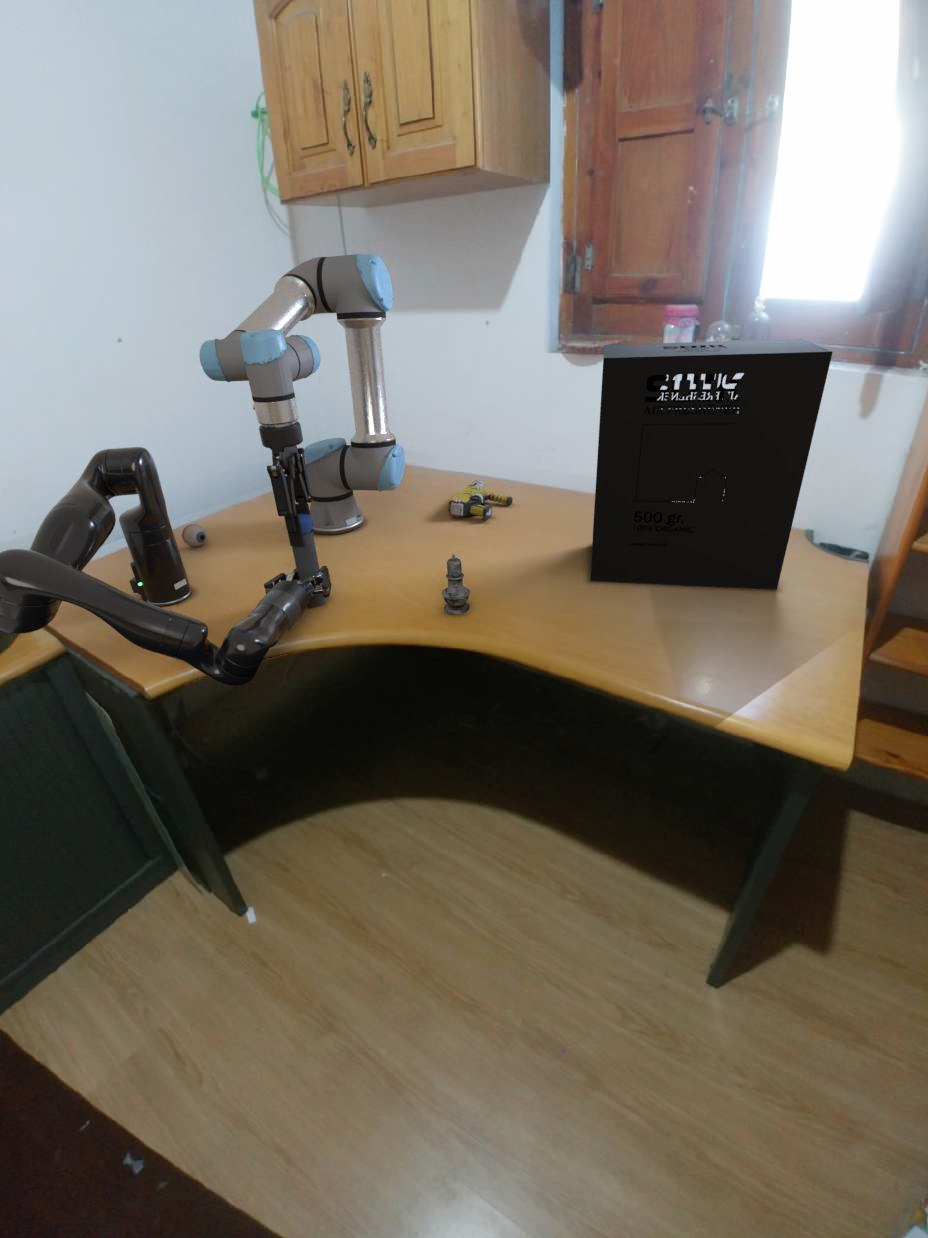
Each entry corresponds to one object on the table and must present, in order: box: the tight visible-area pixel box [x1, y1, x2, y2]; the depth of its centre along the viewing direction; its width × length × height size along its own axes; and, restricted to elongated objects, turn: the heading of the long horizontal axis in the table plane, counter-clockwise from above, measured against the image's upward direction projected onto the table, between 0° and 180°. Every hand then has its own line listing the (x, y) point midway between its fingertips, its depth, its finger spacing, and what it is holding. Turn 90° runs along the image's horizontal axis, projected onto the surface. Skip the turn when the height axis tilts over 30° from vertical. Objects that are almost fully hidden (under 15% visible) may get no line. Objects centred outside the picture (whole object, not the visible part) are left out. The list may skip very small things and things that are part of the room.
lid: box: [285, 514, 313, 533], centre depth 121 cm, size 5×5×2 cm
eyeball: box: [181, 523, 208, 548], centre depth 159 cm, size 6×6×6 cm
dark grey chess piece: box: [441, 553, 471, 615], centre depth 121 cm, size 6×6×12 cm
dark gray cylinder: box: [291, 531, 326, 608], centre depth 126 cm, size 5×5×18 cm
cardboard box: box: [589, 338, 834, 590], centre depth 125 cm, size 38×20×45 cm, turn 78°
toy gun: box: [447, 479, 514, 521], centre depth 175 cm, size 5×24×15 cm
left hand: (314, 569), depth 129 cm, fingers closed on dark gray cylinder, 4 cm apart
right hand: (302, 539), depth 123 cm, fingers closed on lid, 5 cm apart
